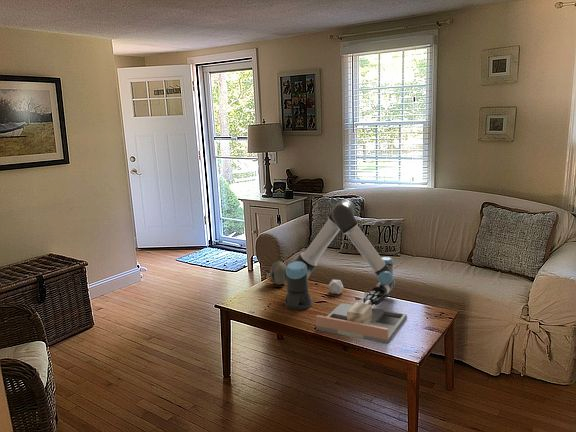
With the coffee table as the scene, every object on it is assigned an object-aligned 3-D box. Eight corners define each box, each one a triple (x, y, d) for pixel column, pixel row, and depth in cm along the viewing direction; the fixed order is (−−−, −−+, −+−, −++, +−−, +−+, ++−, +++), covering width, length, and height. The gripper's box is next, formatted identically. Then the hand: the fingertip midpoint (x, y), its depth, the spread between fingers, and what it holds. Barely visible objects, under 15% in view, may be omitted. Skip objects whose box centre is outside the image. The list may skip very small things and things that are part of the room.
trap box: (316, 329, 225) (315, 316, 224) (341, 306, 250) (341, 294, 249) (387, 344, 207) (387, 329, 205) (406, 317, 232) (406, 304, 230)
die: (345, 292, 272) (338, 277, 275) (345, 290, 264) (338, 275, 267) (333, 298, 272) (326, 283, 275) (333, 296, 263) (325, 281, 266)
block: (347, 326, 221) (347, 311, 220) (356, 317, 231) (356, 302, 230) (363, 329, 217) (362, 314, 216) (372, 319, 227) (371, 304, 226)
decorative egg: (292, 283, 290) (291, 260, 287) (280, 288, 282) (278, 265, 278) (279, 279, 298) (277, 257, 295) (266, 285, 289) (265, 262, 286)
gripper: (392, 299, 246) (377, 316, 226) (369, 295, 252) (352, 312, 232) (392, 285, 244) (377, 302, 224) (368, 282, 251) (352, 298, 231)
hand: (364, 307), depth 228 cm, fingers closed
